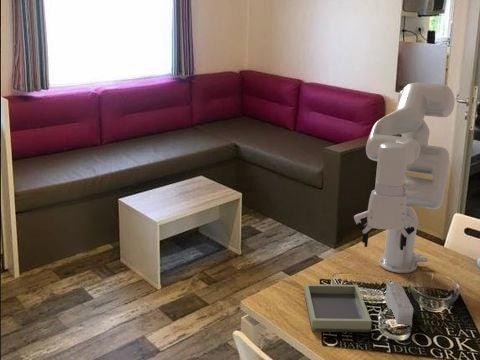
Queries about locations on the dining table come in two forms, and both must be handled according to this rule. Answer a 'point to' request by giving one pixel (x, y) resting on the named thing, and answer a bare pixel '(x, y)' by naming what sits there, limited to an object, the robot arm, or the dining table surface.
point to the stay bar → (399, 303)
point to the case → (336, 308)
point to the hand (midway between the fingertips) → (383, 246)
